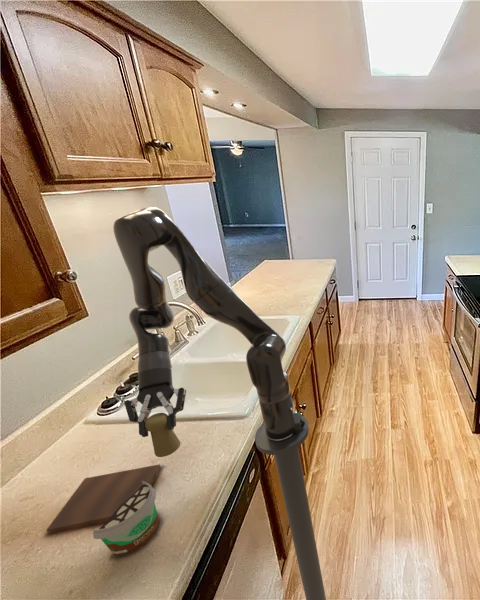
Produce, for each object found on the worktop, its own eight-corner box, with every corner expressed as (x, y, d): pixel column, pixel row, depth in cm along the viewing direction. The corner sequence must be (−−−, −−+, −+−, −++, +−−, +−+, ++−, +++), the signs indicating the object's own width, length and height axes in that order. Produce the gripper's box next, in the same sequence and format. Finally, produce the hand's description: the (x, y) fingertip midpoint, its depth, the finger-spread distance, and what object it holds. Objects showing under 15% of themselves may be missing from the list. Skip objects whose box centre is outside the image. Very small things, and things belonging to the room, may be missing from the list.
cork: (178, 436, 95) (166, 405, 91) (182, 448, 91) (170, 417, 86) (153, 447, 91) (139, 416, 87) (156, 461, 87) (142, 429, 83)
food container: (132, 568, 69) (115, 537, 65) (107, 562, 70) (90, 532, 66) (178, 511, 80) (166, 482, 77) (156, 507, 81) (144, 478, 78)
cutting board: (161, 468, 92) (160, 464, 92) (137, 515, 80) (135, 511, 79) (86, 482, 89) (84, 478, 88) (48, 534, 76) (46, 530, 75)
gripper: (117, 374, 86) (118, 441, 81) (180, 361, 91) (185, 423, 86) (130, 380, 93) (132, 442, 87) (188, 367, 98) (193, 425, 92)
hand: (158, 432), depth 87 cm, fingers closed on cork, 5 cm apart
